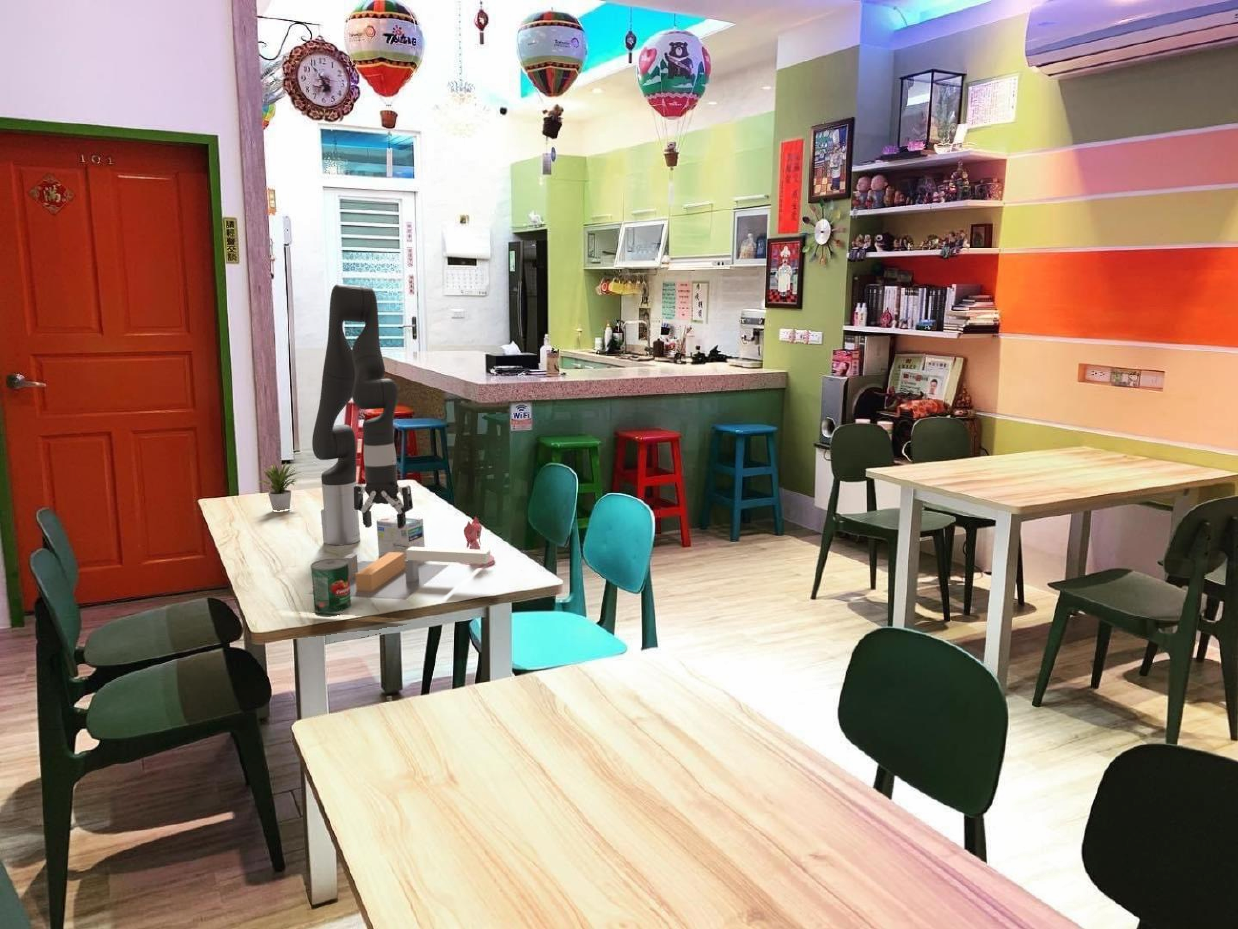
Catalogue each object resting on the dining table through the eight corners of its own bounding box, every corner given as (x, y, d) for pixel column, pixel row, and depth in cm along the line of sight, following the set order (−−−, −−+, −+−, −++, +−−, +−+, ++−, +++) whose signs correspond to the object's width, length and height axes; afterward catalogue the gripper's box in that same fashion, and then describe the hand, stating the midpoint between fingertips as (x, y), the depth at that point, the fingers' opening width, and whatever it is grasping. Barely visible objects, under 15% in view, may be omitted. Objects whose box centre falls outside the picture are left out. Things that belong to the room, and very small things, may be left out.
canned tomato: (349, 615, 196) (345, 567, 194) (311, 618, 195) (307, 569, 193) (353, 603, 204) (350, 557, 202) (317, 605, 202) (313, 559, 200)
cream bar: (406, 560, 214) (406, 550, 213) (411, 556, 217) (411, 546, 216) (486, 563, 210) (485, 553, 209) (490, 560, 213) (490, 550, 212)
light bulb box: (426, 557, 239) (424, 518, 237) (410, 564, 233) (408, 524, 231) (394, 552, 243) (391, 514, 241) (377, 559, 237) (375, 520, 235)
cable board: (308, 597, 208) (306, 571, 207) (361, 564, 233) (360, 541, 232) (405, 603, 203) (403, 576, 202) (448, 568, 228) (447, 545, 227)
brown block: (356, 590, 210) (355, 573, 209) (390, 567, 227) (389, 552, 226) (372, 591, 209) (371, 574, 208) (405, 568, 226) (404, 552, 225)
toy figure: (487, 569, 227) (485, 523, 225) (451, 567, 229) (448, 522, 227) (499, 558, 237) (497, 514, 234) (464, 556, 239) (462, 513, 236)
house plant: (294, 516, 284) (290, 466, 281) (251, 517, 285) (246, 466, 282) (310, 506, 298) (306, 457, 295) (269, 506, 299) (264, 458, 296)
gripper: (345, 464, 213) (350, 530, 216) (401, 465, 210) (405, 532, 213) (360, 458, 220) (365, 522, 223) (414, 459, 218) (418, 524, 221)
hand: (384, 527), depth 218 cm, fingers open, 8 cm apart
